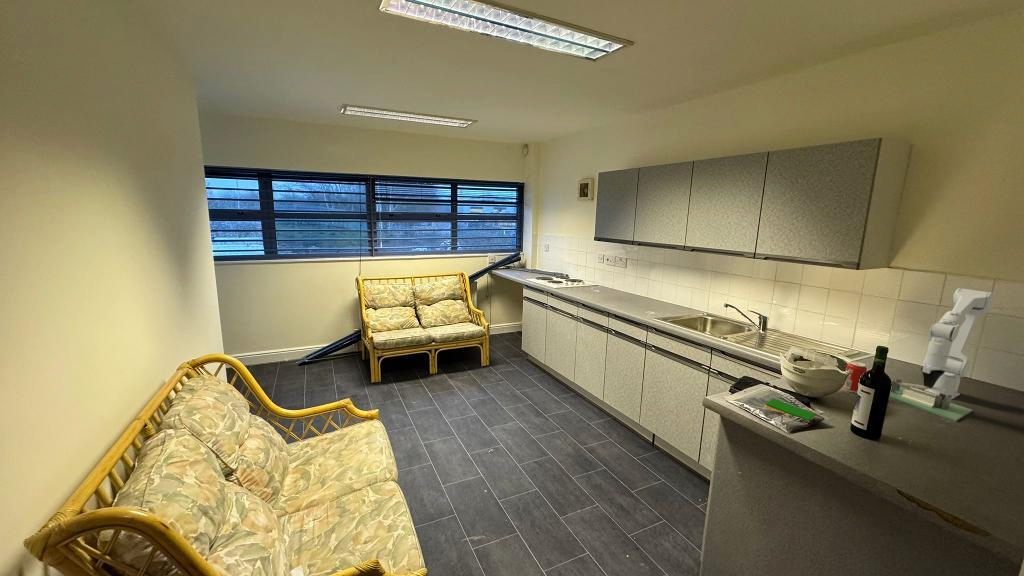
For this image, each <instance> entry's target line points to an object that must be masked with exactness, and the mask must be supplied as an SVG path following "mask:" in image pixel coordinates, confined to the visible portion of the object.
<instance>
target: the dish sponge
mask: <svg viewBox="0 0 1024 576" xmlns="http://www.w3.org/2000/svg"><path fill="white" fill-rule="evenodd" d="M765 407H766V408H769V409H772V410H775V411H778V412H782V413H785V414H789V415H794V416H797V417H801V418H803V419H805V420H807V421H809V420H810V419H811V418H812V417H814V416H815V417H816V414H815V412H812V411H808V410H806V409H803V408H800V407H798V406H795V405H793V404H790V403H787V402H784V401H781V400H779V399H776V398H771V399H770V400H768V401H767V402H766V403H765V406H764V408H765Z"/></svg>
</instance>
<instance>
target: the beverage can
mask: <svg viewBox="0 0 1024 576" xmlns="http://www.w3.org/2000/svg"><path fill="white" fill-rule="evenodd" d="M848 370H850V374H849V376H848V378H847V380H846V382H845V385H844V387H842V388H843V389H844V390H845V391H847V392H848V393H852V394H853V392H854V394H858V393H857V390H858V383H859V379H860V376H861V375H862V374H863V373H865V372H866V373H867V371H868V368H867V367H866V364H865V363H862V362H861V361H860V362H859V361H855V360H852V361H849V362H848V363H847V364H846V368H845V371H844V373H845V372H846V371H848Z"/></svg>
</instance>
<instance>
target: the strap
mask: <svg viewBox="0 0 1024 576" xmlns="http://www.w3.org/2000/svg"><path fill="white" fill-rule="evenodd" d="M897 385H901V387H908V388H910V387H913V388H916V389H923V390H926V389H930V390H937V391H946V389H945V388H938V387H932V388H929V387H926V386H924V384H923V385H922V384H913V383H909V382H907V383H906V382H898V383H897Z"/></svg>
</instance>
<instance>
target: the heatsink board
mask: <svg viewBox="0 0 1024 576" xmlns="http://www.w3.org/2000/svg"><path fill="white" fill-rule="evenodd" d="M902 381H903V380H902V379H900V378H896V380H892V381H891V384H892V389H891V394H890V398H889V399H890V400H894V401H896V402H899V403H901V404H904V405H907V406H910V407H913V408H916V409H919V410H921V411H924V412H927V413H930V412H931V413H930V414H932V415H935V414H936V415H935V416H938V415H939V417H941V418H944V419H947V420H950V421H952V420H953V422H958V421H959V420H960V419H962V418H964V417H965V416H967V415H969V414H970V413H971V412H972V411H973V409H971V408H967V407H965V406H962V405H960V404H959V405H958V404H955V403H953V402H951V401H952V400H953V399H952V395H948V396H946V395H945V394H942V393H940V395H936V394H933V393H930V392H927V391H925V390H922V389H920V388H916V387H908V388H906V387H905V386H902V385H897V383H898V382H901V383H903V382H902Z"/></svg>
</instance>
